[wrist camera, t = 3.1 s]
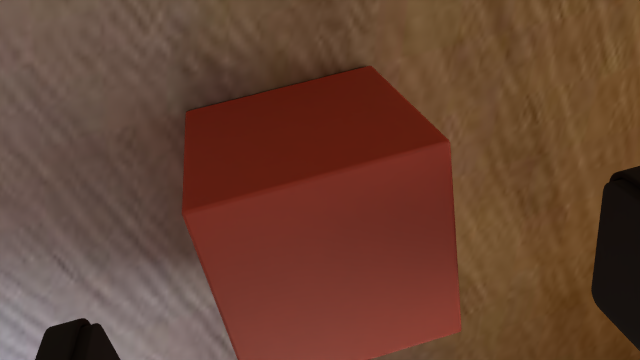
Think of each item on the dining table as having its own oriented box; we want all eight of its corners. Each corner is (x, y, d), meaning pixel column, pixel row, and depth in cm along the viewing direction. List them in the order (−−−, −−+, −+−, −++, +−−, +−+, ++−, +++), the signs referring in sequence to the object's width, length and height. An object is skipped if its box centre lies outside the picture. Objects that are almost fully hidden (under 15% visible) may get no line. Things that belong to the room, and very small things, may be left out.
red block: (235, 261, 16) (251, 397, 12) (184, 111, 13) (180, 212, 9) (392, 217, 16) (463, 332, 12) (371, 64, 14) (452, 140, 9)
